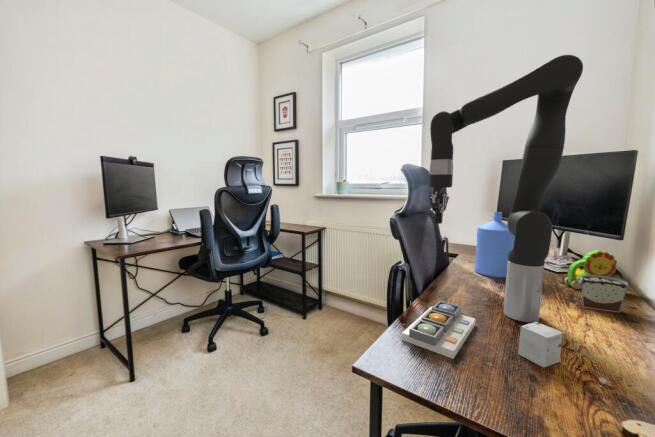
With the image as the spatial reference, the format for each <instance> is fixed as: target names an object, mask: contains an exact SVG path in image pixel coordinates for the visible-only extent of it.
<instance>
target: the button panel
mask: <svg viewBox="0 0 655 437" xmlns="http://www.w3.org/2000/svg"><path fill="white" fill-rule="evenodd" d="M441 304H448V305H451V306H453V307H454V308H455V312H454V313H452V312H448V311H444V310H441V309H439V305H441ZM432 313H438V314H442V315H444V316H445V317H446V322H445V323H441V322H438V321H434V320H431V319H429V315H430V314H432ZM420 324H430V325H432V326H434V327H435V328H436V334H435V335H434V336H433V335H430V334H427V333H424V332H421V331H418V325H420ZM475 326H476V318H475V317H471V316H467V315H464V314H462V306H460V305H456V304H453V303H450V302H449V303H448V302H446V301H441V300H439V301H437V303H435V304H434V305H433V306H429V308H428V309H426V311H425V312H424V313H422V314H421V315H420V316H419V317H418V318H417V319H416V320H415V321H414V322H413V323H411V324H410V325H409V326H408V327H407V328H406V329H405V330H404V331H403V332H402V334H401V335H402V336H401V340H402V341H404V342H407V343H410V344H412V345H414V346H417V347H421V348H422V349H426V350H428V351H431V352H433V353H436V354H439V355H442V356H444V357H447V358H449V359H452V360H454V359H455V357H456V356H457V354H458V352H459V351H460V350H461V348H462V347H463V345H464V343H465V342H466V340H467V338H468V337H469V335H470V334H471V332H472V331H473V329H474V328H475Z"/></svg>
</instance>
